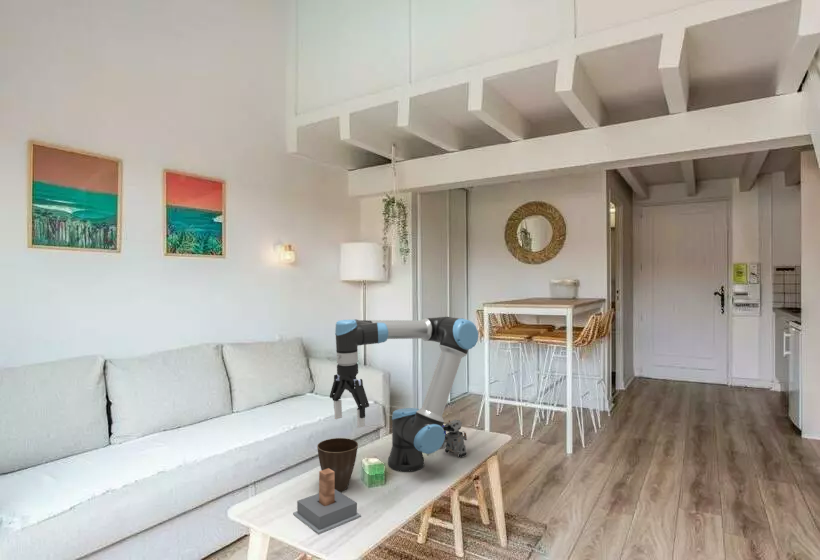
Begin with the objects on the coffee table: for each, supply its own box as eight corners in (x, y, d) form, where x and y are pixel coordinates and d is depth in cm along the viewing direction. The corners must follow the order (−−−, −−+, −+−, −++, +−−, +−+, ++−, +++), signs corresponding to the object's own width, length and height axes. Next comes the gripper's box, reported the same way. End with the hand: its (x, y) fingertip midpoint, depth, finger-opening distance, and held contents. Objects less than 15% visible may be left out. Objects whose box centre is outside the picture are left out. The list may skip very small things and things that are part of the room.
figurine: (436, 456, 208) (436, 422, 208) (453, 449, 216) (453, 416, 216) (452, 462, 202) (452, 426, 201) (469, 454, 210) (469, 420, 209)
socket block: (334, 499, 168) (334, 486, 168) (361, 516, 156) (361, 502, 156) (293, 514, 157) (293, 500, 157) (318, 534, 146) (318, 519, 145)
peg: (328, 509, 159) (328, 468, 159) (334, 514, 157) (334, 471, 156) (319, 513, 157) (319, 471, 157) (325, 517, 154) (325, 474, 154)
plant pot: (335, 475, 188) (335, 435, 187) (365, 484, 180) (365, 442, 180) (308, 490, 175) (308, 447, 174) (340, 500, 167) (340, 455, 167)
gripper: (318, 360, 176) (321, 417, 177) (360, 370, 158) (362, 433, 159) (335, 357, 182) (337, 412, 182) (378, 366, 164) (380, 427, 164)
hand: (349, 422), depth 171 cm, fingers open, 13 cm apart
